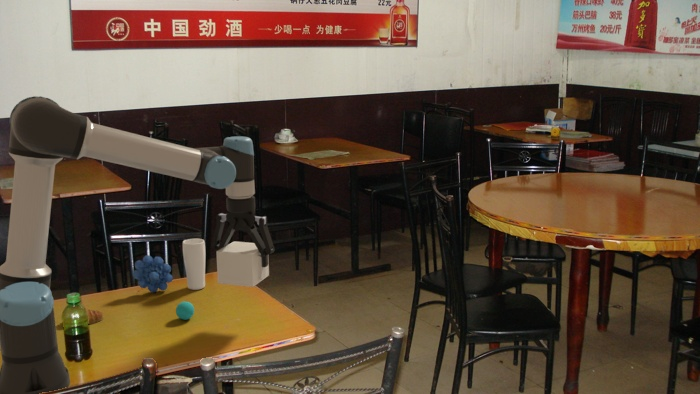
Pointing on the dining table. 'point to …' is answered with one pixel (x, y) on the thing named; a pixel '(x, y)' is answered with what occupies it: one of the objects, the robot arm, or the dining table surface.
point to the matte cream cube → (239, 264)
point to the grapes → (152, 273)
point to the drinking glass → (194, 262)
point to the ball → (185, 310)
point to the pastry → (94, 316)
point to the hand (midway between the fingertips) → (243, 276)
